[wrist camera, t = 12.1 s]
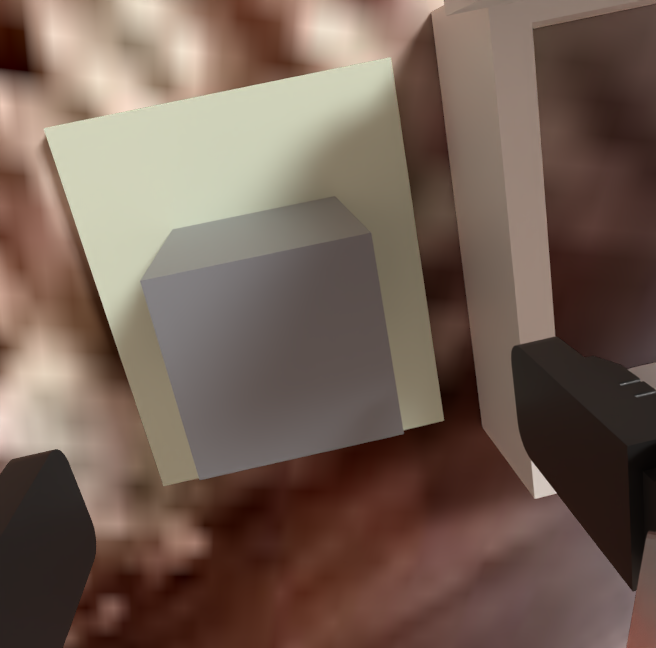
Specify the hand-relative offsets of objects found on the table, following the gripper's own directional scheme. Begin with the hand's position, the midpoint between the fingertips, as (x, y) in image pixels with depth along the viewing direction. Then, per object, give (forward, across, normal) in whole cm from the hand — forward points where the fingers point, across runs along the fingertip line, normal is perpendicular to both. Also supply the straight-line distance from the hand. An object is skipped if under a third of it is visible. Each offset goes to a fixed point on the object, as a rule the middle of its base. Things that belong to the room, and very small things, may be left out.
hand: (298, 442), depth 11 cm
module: (+9, 0, 0) cm, 9 cm away
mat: (+10, 0, 0) cm, 10 cm away
